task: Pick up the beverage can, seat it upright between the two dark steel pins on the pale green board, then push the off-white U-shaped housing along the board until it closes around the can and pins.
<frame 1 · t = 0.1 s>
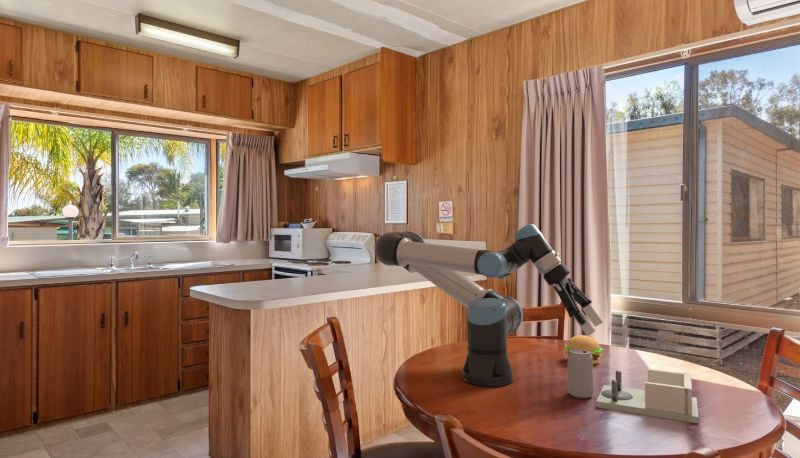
hand: (595, 329, 144), 15 cm above the table, tool tilted 35°, fingers open, 13 cm apart
beverage can: (580, 396, 132), on the table
hamburger: (583, 362, 165), on the table
board: (646, 405, 124), on the table
pins: (616, 400, 127), resting on board
housing: (668, 390, 122), point 5 cm above the table, slide at 0.0 cm
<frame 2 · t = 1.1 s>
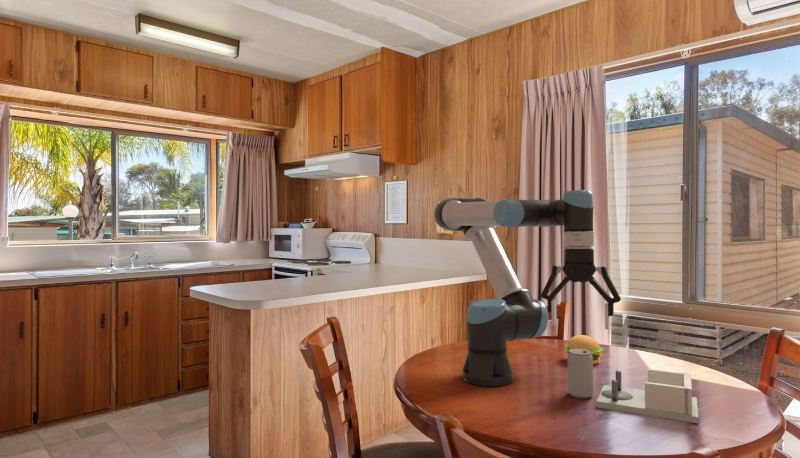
hand: (580, 326, 132), 19 cm above the table, tool pointing down, fingers open, 13 cm apart
nothing on the table moved.
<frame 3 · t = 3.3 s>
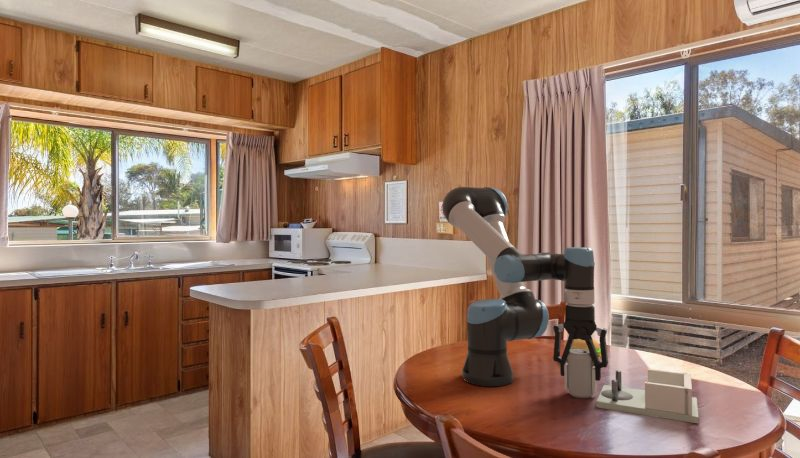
hand: (580, 389, 132), 1 cm above the table, tool pointing down, fingers closed on beverage can, 6 cm apart
beverage can: (580, 396, 132), on the table, touching gripper
everything else where it was.
when the fingers open (4 cm above the table, at t = 7.3 s): beverage can stays where it is, resting on board.
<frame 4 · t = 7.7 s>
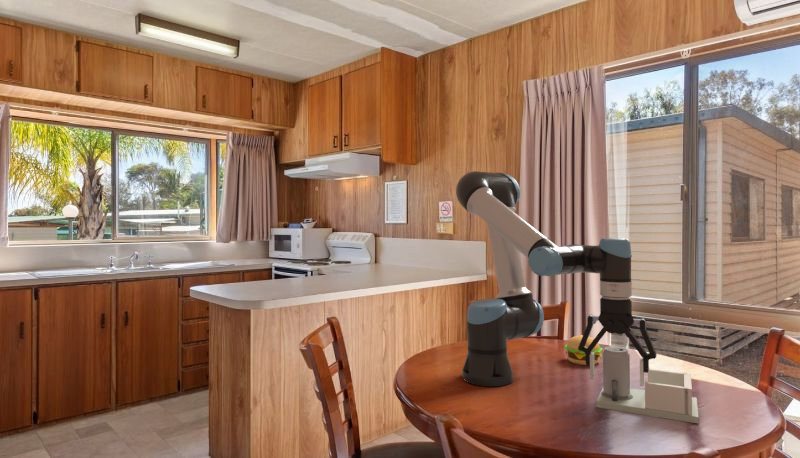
hand: (616, 381, 127), 5 cm above the table, tool pointing down, fingers open, 11 cm apart
beverage can: (616, 395, 127), point 1 cm above the table, touching board
everything else where it was.
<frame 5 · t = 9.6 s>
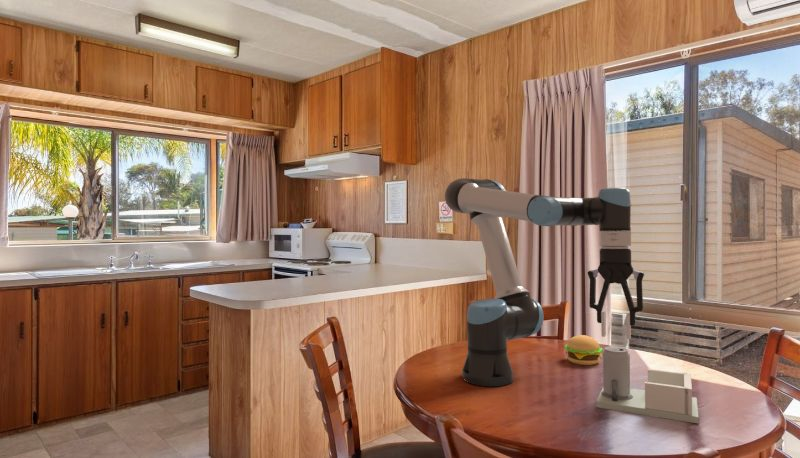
hand: (616, 336, 127), 17 cm above the table, tool pointing down, fingers open, 5 cm apart
nothing on the table moved.
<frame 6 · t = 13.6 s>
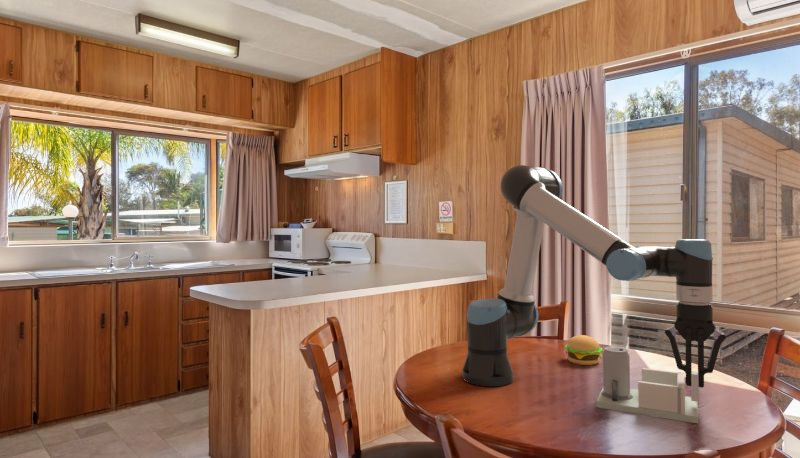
hand: (694, 399, 119), 3 cm above the table, tool pointing down, fingers closed
housing: (662, 389, 122), point 5 cm above the table, slide at 1.4 cm, touching gripper
everything else where it was.
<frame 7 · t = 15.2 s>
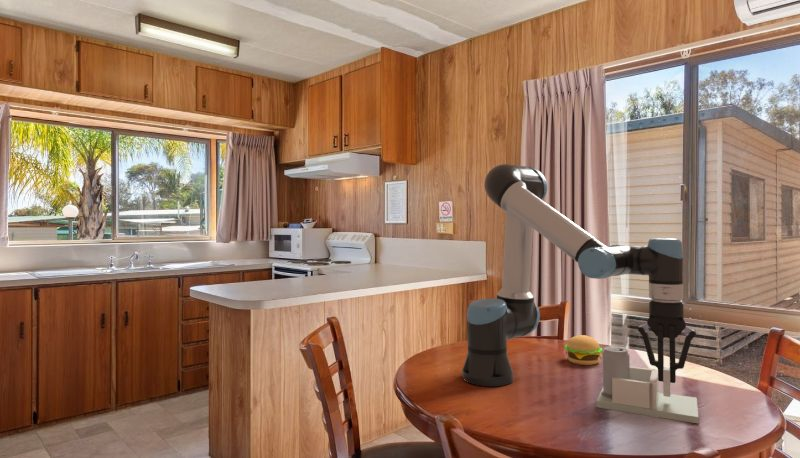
hand: (667, 394, 122), 3 cm above the table, tool pointing down, fingers closed
housing: (636, 385, 125), point 5 cm above the table, slide at 7.3 cm, touching gripper
everything else where it was.
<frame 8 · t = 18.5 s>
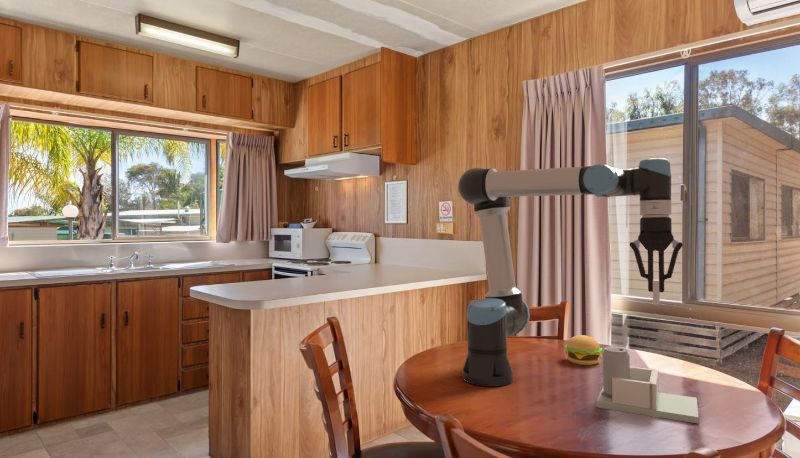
hand: (656, 304, 132), 24 cm above the table, tool pointing down, fingers closed
housing: (636, 385, 125), point 5 cm above the table, slide at 7.3 cm
everything else where it was.
at the end: beverage can inside the target area (0.1 cm from its centre), point 1.4 cm above the table; beverage can tilted 0°; housing slide at 7.3 cm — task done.
